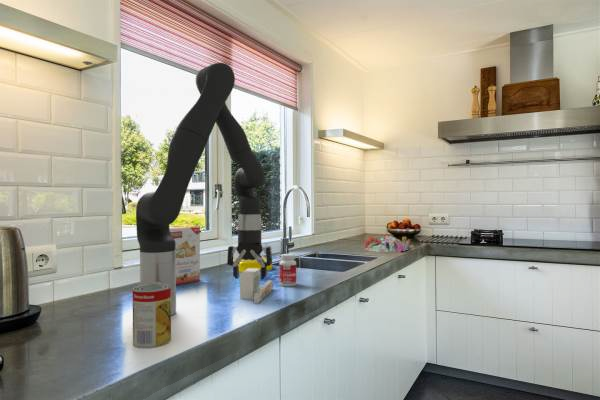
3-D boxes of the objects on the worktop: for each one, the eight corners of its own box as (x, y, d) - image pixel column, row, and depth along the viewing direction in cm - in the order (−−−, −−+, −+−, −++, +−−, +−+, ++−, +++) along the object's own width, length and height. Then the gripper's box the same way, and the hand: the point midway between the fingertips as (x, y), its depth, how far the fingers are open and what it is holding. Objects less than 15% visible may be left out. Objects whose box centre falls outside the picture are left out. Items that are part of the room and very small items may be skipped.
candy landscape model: (386, 247, 265) (385, 233, 265) (417, 251, 246) (417, 235, 246) (358, 250, 249) (358, 235, 249) (389, 254, 231) (389, 238, 231)
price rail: (261, 303, 123) (261, 293, 123) (254, 303, 124) (254, 293, 124) (274, 289, 143) (274, 280, 143) (268, 288, 144) (268, 280, 144)
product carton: (260, 292, 139) (260, 268, 139) (253, 299, 129) (252, 273, 129) (247, 292, 139) (247, 268, 139) (239, 299, 129) (239, 273, 129)
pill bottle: (281, 287, 146) (281, 256, 146) (277, 284, 152) (277, 253, 152) (298, 286, 148) (298, 255, 148) (293, 282, 154) (293, 253, 154)
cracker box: (169, 286, 149) (168, 228, 149) (159, 284, 153) (159, 227, 153) (201, 280, 160) (200, 226, 160) (191, 278, 163) (190, 225, 163)
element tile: (232, 267, 191) (232, 257, 191) (264, 265, 196) (264, 255, 196) (239, 272, 177) (239, 261, 177) (273, 270, 182) (273, 259, 182)
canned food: (175, 335, 95) (174, 283, 95) (165, 347, 87) (164, 290, 87) (140, 336, 95) (139, 283, 95) (127, 348, 87) (126, 291, 87)
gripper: (273, 227, 137) (273, 277, 137) (231, 227, 139) (231, 276, 139) (268, 229, 129) (268, 281, 129) (224, 229, 131) (224, 280, 131)
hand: (249, 278), depth 134 cm, fingers open, 8 cm apart
